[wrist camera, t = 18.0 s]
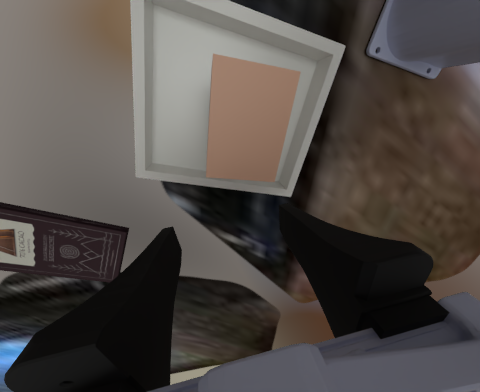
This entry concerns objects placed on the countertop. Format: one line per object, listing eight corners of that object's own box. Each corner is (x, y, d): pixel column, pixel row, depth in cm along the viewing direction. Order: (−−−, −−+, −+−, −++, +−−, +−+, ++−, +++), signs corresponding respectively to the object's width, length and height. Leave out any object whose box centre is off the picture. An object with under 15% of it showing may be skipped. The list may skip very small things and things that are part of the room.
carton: (271, 81, 12) (300, 71, 8) (256, 160, 15) (274, 182, 11) (211, 70, 11) (213, 53, 7) (206, 155, 14) (205, 177, 10)
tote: (324, 54, 17) (345, 45, 15) (280, 186, 23) (290, 196, 21) (144, -10, 14) (129, -38, 11) (145, 167, 19) (135, 177, 17)
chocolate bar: (116, 283, 25) (-72, 262, 19) (119, 277, 26) (-61, 255, 20) (126, 232, 22) (-96, 189, 16) (129, 227, 23) (-81, 185, 17)
